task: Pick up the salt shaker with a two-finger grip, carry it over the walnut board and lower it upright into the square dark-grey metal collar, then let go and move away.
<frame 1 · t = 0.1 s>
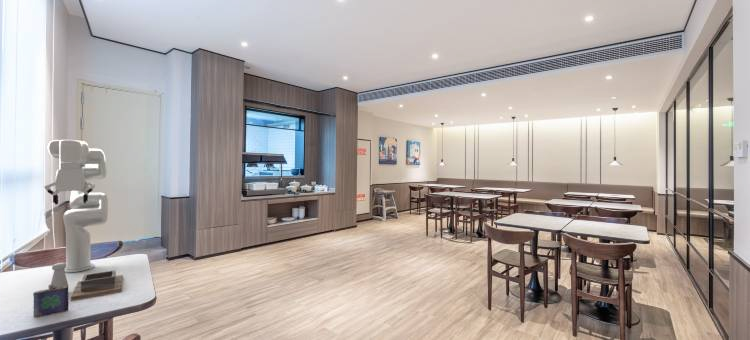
hand: (70, 203, 152), 37 cm above the table, tool pointing down, fingers open, 9 cm apart
holder board: (99, 288, 145), on the table
salt shaker: (59, 294, 138), on the table
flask: (51, 313, 120), on the table
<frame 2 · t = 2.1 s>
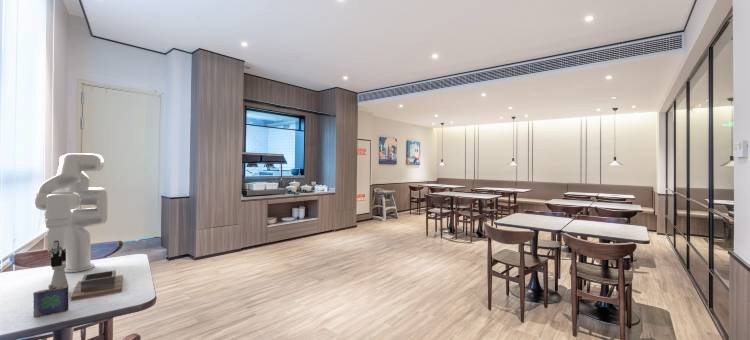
hand: (58, 263, 138), 13 cm above the table, tool pointing down, fingers open, 9 cm apart
nothing on the table moved.
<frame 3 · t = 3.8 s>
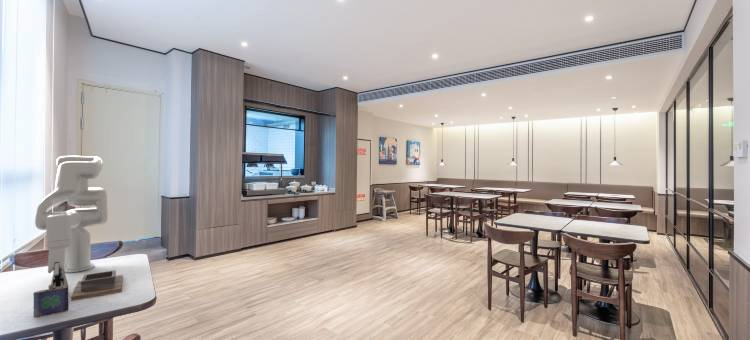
hand: (59, 286, 138), 3 cm above the table, tool pointing down, fingers closed on salt shaker, 3 cm apart
salt shaker: (59, 294, 138), on the table, touching gripper
everything else where it was.
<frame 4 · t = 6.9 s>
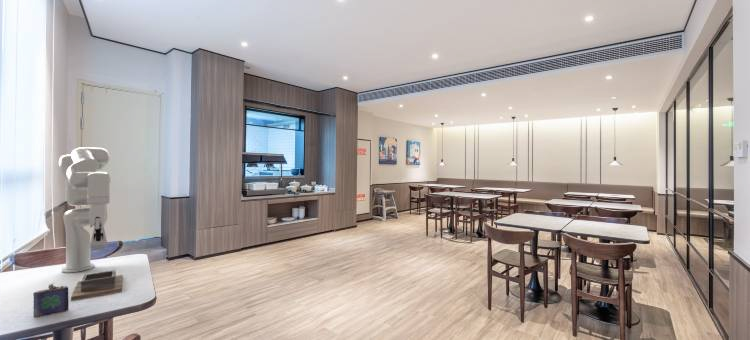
hand: (98, 241, 145), 21 cm above the table, tool pointing down, fingers closed on salt shaker, 3 cm apart
salt shaker: (98, 249, 145), point 17 cm above the table, touching gripper
everything else where it was.
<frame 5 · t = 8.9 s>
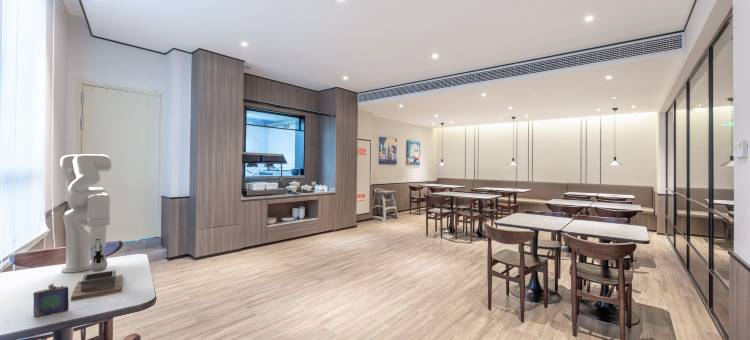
hand: (99, 263, 145), 11 cm above the table, tool pointing down, fingers closed on salt shaker, 3 cm apart
salt shaker: (99, 270, 145), point 8 cm above the table, touching gripper
everything else where it was.
when the fingers open (7 cm above the table, at t = 10.3 s): salt shaker drops 2 cm, resting on holder board.
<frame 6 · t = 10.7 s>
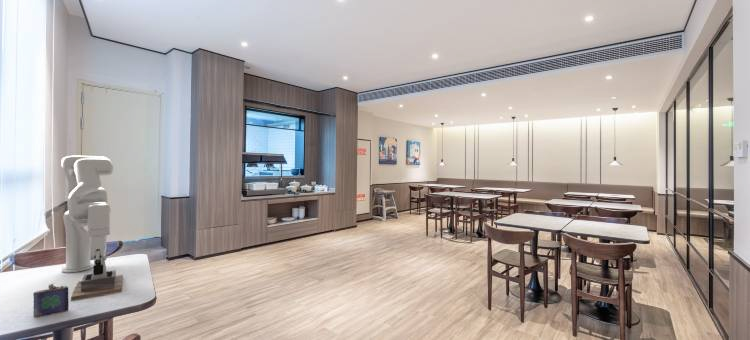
hand: (99, 271, 145), 7 cm above the table, tool pointing down, fingers open, 6 cm apart
salt shaker: (98, 284, 145), point 1 cm above the table, touching holder board
everything else where it was.
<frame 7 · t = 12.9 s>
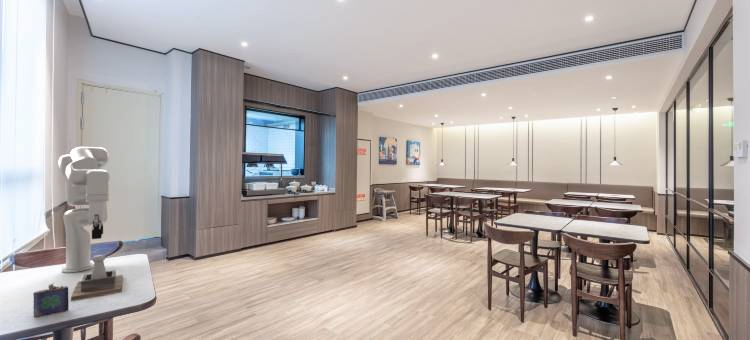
hand: (97, 236, 146), 23 cm above the table, tool pointing down, fingers open, 9 cm apart
nothing on the table moved.
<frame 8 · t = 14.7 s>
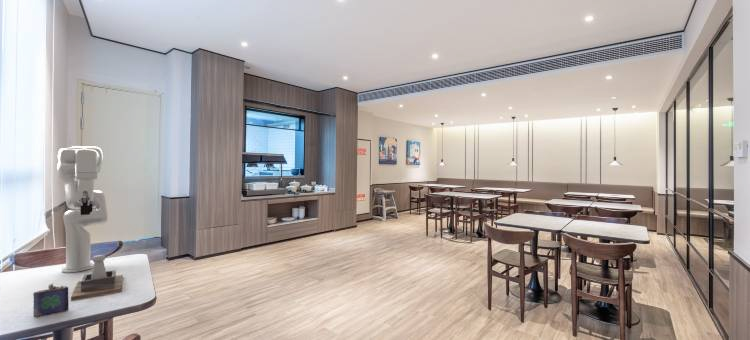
hand: (86, 213, 151), 32 cm above the table, tool pointing down, fingers open, 9 cm apart
nothing on the table moved.
at the end: salt shaker 0.1 cm off-centre on the holder board, point 1.3 cm above the holder board's base; salt shaker tilted 0°; the gripper is holding nothing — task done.
